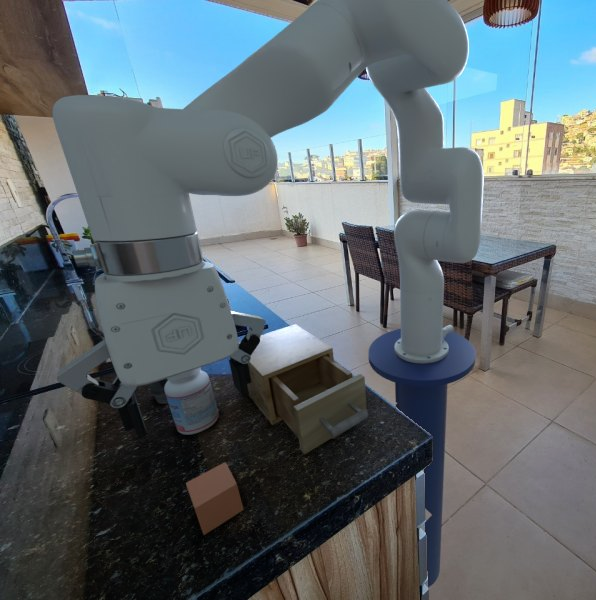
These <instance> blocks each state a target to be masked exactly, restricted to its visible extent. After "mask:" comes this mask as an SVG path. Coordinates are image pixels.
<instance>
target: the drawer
mask: <svg viewBox="0 0 596 600" xmlns="http://www.w3.org/2000/svg"><path fill="white" fill-rule="evenodd" d="M268 379H269V384H270V389H271V395H272V400H273V405H274V410H275V411H276V413H277V414H278V415H279V416H280V417H281V418H282V421H283V422H284V423H285V425H286V426H287V427H288V428H289V429H290V430H291V432H292V433H293V434H294V435H295V436H296V437H297V439H298V442H299V449H300V452H302V454H303V455H306V454H308V453H310V452H311V451H313V450H315V449H316V448H318V447H319V446H321V445H323V444H324V443H325V442H327V441H329V440H331V439H336V438H337V437H339V436H341V435H342V434H344V433H346V432H347V431H348V430H350V429H352V428H353V427H355V426H356V425H358V424H360V423H361V422H363V421H365V420H367V419H368V418H369V413H368V410H367V409H368V408H367V395H366V378H365V376H364V375H362V374H361V373H359V374H357V375H355V376H353V373H352V372H351V371H349V370H348V369H346V368H345V367H344V366H343V365H341V364H339V363H338V362H336V361H335V360H334V361H333V360H332V359H331V358H329V357H328V356H326V355H324V356H321V357H319V358H316V359H314V360H311V361H309V362H307V363H304V364H302V365H299V366H297V367H294V368H292V369H290V370H287V371H285V372H282V373H280V374H277V375H275V376H273V377H270V378H268Z"/></svg>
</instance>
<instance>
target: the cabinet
mask: <svg viewBox="0 0 596 600" xmlns="http://www.w3.org/2000/svg"><path fill="white" fill-rule="evenodd" d="M240 342H241V341H239V344H240ZM324 355H326V356H328V357H329V358H331V359H332V360H333V361H335V358H334V348H333V347H332V346H330V345H329V344H327V343H326V342H325V341H322V340H321V339H319V337H316V336H314V335H313V334H312V333H310V332H308V331H307V330H305V329H304V328H302V327H301V326H299V325H298V324H296V323H294V324H292V325H289V326H285V327H282V328H278V329H276V330H273V331H270V332H267V333H264V334H263V333H262V335H261V336H260V343H259V345H258V346H257V347H256V349H255V350H254V352H253V353H252V355H251V360H250V361H249V362H248V367H249V372H250V377H251V383H249V384H247V386H248V391H249V394H248V395H247V396H249V397H250V399H251V400H252V402H253V403H254V404H255V406H257V408H258V409H259V410H260V411H261V413H262V414H263V415H264V417H265V418H266V419H267V420H268V422H269V423H270V424H271V426H274V425H276V424H277V423H280V422H282V421H283V420H282V418H281V417H280V416H279V415H278V414H277V413H276V411H275V410H274V405H273V400H272V395H271V389H270V384H269V379H268V378H270V377H273V376H275V375H277V374H280V373H282V372H285V371H287V370H290V369H292V368H294V367H297V366H299V365H302V364H304V363H307V362H309V361H311V360H314V359H316V358H319V357H321V356H324Z"/></svg>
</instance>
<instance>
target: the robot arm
mask: <svg viewBox="0 0 596 600" xmlns="http://www.w3.org/2000/svg"><path fill="white" fill-rule="evenodd" d="M469 54H470V43H469V35H468V31H467V27H466V25H465V22H464V20H463V18H462V17H461V15H460V14H459V12H458V11H457V9H456V8H455V7H454V6H453V5H452V4H451V2H450V1H448V0H316V1H315V2H314V3H312V4H311V5H310V6H309V7H307V9H306V10H304V11H303V12H302V13H301V14H300V15H299V16H298V17H296V18H295V19H294V20H293V21H292V22H290V23H289V24H287V26H286V27H284V28H283V29H282V30H281V31H279V32H278V33H277V34H275V35H274V36H273V37H272V38H270V39H269V40H268V41H266V43H264V44H263V45H262V46H260V47H259V48H257V49H256V50H255V51H254V52H253V53H251V54H250V55H249V56H247V58H245V59H244V60H243V61H242V62H241V63H240V64H238V65H237V66H236V67H235V68H233V69H232V70H231V71H229V72H228V73H227V74H226V75H224V76H223V77H221V78H220V79H219V80H218V81H216V82H215V83H214V84H212V85H211V86H209V87H208V88H207V89H206V90H205V91H203V92H202V93H200V95H198V96H197V97H196V98H194V99H193V100H192V101H191V102H190V103H188V104H187V105H186V106H185V107H183V108H169V107H157V106H153V105H151V104H148V103H146V102H142V101H138V100H135V99H128V98H123V97H116V96H108V95H97V94H95V95H94V94H75V95H68V96H64V97H61V98H59V99H58V100H56V101H55V103H54V104H53V106H52V111H51V112H52V119H53V124H54V127H55V130H56V134H57V137H58V139H59V142H60V145H61V149H62V152H63V155H64V157H65V160H66V161H65V162H66V164H67V167H68V169H69V172H70V175H71V178H72V182H73V185H74V187H75V191H76V194H77V196H78V199H79V202H80V203H79V204H80V205H81V209H82V211H83V215H84V218H85V220H86V224H87V227H88V229H89V233H90V236H91V238H92V240H93V244H89V247H84V248H83V249H77V250H72V251H71V253H72V255H73V259H74V262H75V265H76V267H77V268H80V267H88V266H89V267H90V268H94V267H96V268H97V270H102V271H103V274H101V275H99V276H97V277H96V278H95V280H94V297H95V302H96V303H95V304H96V309H97V315H98V319H99V322H100V327H101V330H102V334H103V337H104V339H103V340H101V341H99V342H98V343H97V344H95V345H94V346H92V347H91V348H89V349H88V350H86V351H85V352H84V353H82V354H80V355H79V356H78V357H76V358H75V359H73V360H72V361H70V362H68V363H67V364H66V365H64V366H63V367H61V368H60V369H58V371H57V377H56V379H57V382H59V383H60V384H61V385H63V386H65V387H67V388H69V389H70V390H72V391H74V392H75V393H79V394H80V395H81V396H82V398H83V399H85V400H89V401H90V400H91V401H93V402H94V401H95V402H99V403H103V404H108V405H110V407H112V408H114V409H117V412H118V414H119V417H120V419H121V423H122V425H123V428H124V430H125V432H128V431H131V430H134V431H135V434H136V437H137V439H138V440H142V439H143V438H146V436H147V435H148V432H147V428H146V423H145V420H144V417H143V414H142V411H141V408H140V405H139V402H138V399H137V397H136V394H135V391H136V390H137V388H138V387H142V386H147V385H148V384H150V383H154V382H157V381H160V380H163V379H166V378H170V377H173V376H176V375H179V374H182V373H185V372H188V371H191V370H194V369H197V368H200V367H201V368H203V367H206V366H209V365H213V364H215V363H218V362H220V361H224V360H226V359H228V358H229V359H228V363H229V368H230V372H231V376H232V382H233V386H234V387H235V389H236V390H237V391H238V393H239V394H240V396H242V397H246V396H249V395H248V394H249V391H248V386H247V384H249V383H251V377H250V372H249V367H248V362H249V361H250V360H251V355H252V353H253V352H254V350H255V349H256V347H257V346H258V345H259V343H260V336H261V335H263V333H264V329H265V326H266V320H265V319H264V318H263V317H261V316H259V315H253V314H249V313H244V312H238V311H234V310H231V306H230V303H229V300H228V296H227V293H226V290H225V288H224V284H223V282H222V280H221V278H220V275H219V273H218V271H217V268H216V267H215V265H214V263H212V262H209V261H204V257H203V253H202V248H201V243H200V238H199V233H198V229H197V224H196V220H195V215H194V211H193V206H192V201H191V197H190V194H191V195H197V196H220V197H243V196H250V195H253V194H255V193H258V192H260V191H261V190H263V189H265V188H266V187H267V186H268V185H269V184H270V183H271V182H272V181H273V179H274V177H275V175H276V173H277V169H278V164H279V163H278V162H279V161H278V160H279V159H278V152H277V149H276V146H275V144H274V142H273V140H272V138H274V137H275V136H277V135H279V134H281V133H283V132H286V131H289V130H291V129H293V128H296V127H299V126H301V125H303V124H304V125H305V124H306V123H308V122H310V121H312V120H314V119H315V118H317V117H319V116H321V115H323V114H324V113H325V112H327V111H328V110H329V109H330V108H331V107H332V106H333V105H334V103H335V102H337V100H338V98H340V96H342V94H343V93H344V92H345V91H346V90H347V89H348V88H349V87H350V86H351V84H352V83H353V82H354V81H355V80H356V79H357V78H358V77H359V76H360V75H361V74H362V72H363V71H364V70H365V71H366V73H367V76H368V78H369V81H370V82H371V84H372V85H373V87H374V89H376V91H377V92H378V93H379V94H380V96H382V98H383V100H384V101H385V102H386V104H387V105H388V107H389V109H390V111H391V113H392V115H393V117H394V120H395V125H396V131H397V144H398V145H397V147H398V148H397V149H398V150H397V151H398V174H399V176H398V177H399V187H400V192H401V195H402V196H403V198H404V199H405V200H406V201H408V202H410V203H416V204H426V205H427V204H430V205H448V206H449V207H448V208H449V211H442V210H441V211H440V210H430V209H429V210H428V209H427V210H425V209H415V210H410V211H407V212H405V213H403V214H402V215H400V216H399V218H398V219H397V220H396V223H395V225H394V229H393V240H394V244H395V249H396V255H397V259H398V268H399V269H398V270H399V298H400V299H399V301H400V303H399V304H400V305H399V308H400V309H399V310H400V329H401V338H400V339H399V340H398V341H397V342H396V343H395V353H396V355H397V356H398V357H400V358H401V359H403V360H405V361H408V362H412V363H421V364H424V363H433V362H436V361H439V360H441V359H443V358H444V357H446V355H447V354H448V351H449V346H448V344H447V342H446V341H445V340H444V337H446V335H447V334H449V333H451V332H454V331H455V328H454V326H453V325H452V324H448V325H446V326H444V301H445V300H444V298H445V297H444V294H445V277H444V272H443V269H442V266H441V265H440V263H439V262H445V263H446V262H447V263H454V264H455V263H456V264H466V263H468V262H471V261H472V260H474V258H475V257H476V256H477V254H478V251H479V249H480V244H481V238H482V223H483V222H482V221H483V206H484V205H483V204H484V203H483V202H484V186H485V184H484V183H485V179H484V178H485V174H484V167H483V163H482V160H481V157H480V156H479V154H478V153H477V151H475V150H474V149H472V148H469V147H464V146H460V147H446V145H445V120H444V115H443V112H442V109H441V108H440V106H439V104H438V102H437V101H436V100H435V98H434V97H433V95H432V94H431V93H430V92H429V90H428V89H427V88H432V87H436V86H441V85H445V84H449V83H451V82H454V81H455V80H457V79H458V78H459V77H460V76H461V75H462V74H463V72H464V70H465V68H466V66H467V63H468V60H469ZM236 326H240V327H246V328H247V333H246V334H245V335H244V336H243V338H242V340H241V341H239V336H238V332H237V328H236ZM443 326H444V327H443ZM239 342H240V344H239ZM109 358H110V360H111V361H110V362H111V363H112V366H113V369H114V372H115V374H116V377H115V379H114V380H113V382H108V381H105V380H101V379H98V378H93V377H92V376H91V375H90V374H88V373H91V371H93V370H94V369H95V368H97V367H98V366H100V365H102V363H104V362H106V360H108V359H109Z"/></svg>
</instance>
